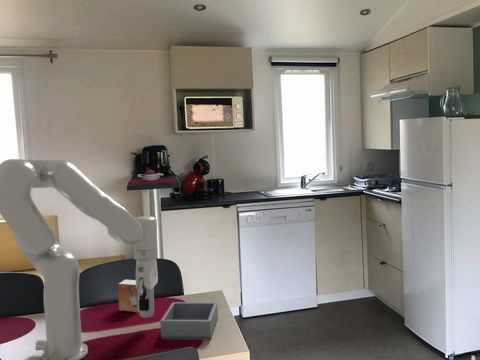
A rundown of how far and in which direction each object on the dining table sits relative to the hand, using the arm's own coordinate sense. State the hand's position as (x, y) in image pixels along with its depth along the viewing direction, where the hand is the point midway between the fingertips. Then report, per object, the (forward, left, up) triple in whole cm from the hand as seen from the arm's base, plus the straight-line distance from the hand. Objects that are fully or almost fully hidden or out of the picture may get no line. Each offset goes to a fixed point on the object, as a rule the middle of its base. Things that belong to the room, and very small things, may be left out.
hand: (146, 306), depth 142 cm
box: (+15, +1, -8) cm, 17 cm away
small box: (-11, +18, -8) cm, 22 cm away
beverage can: (0, 0, -3) cm, 3 cm away
